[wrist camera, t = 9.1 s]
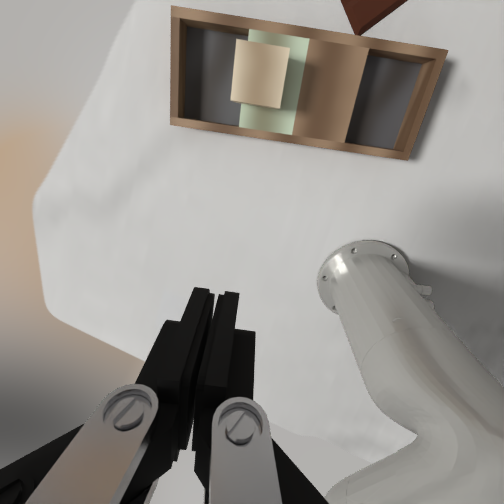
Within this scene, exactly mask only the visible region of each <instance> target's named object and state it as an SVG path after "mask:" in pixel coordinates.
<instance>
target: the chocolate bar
mask: <svg viewBox="0 0 504 504" xmlns="http://www.w3.org/2000/svg"><path fill="white" fill-rule="evenodd" d="M406 1H407V0H341V3H342V5H343V7H344V10H345V12H346V15H347V17H348V19H349V22H350V24H351V26H352V29H353V31H354V34H355V35H358V36H360V35H361V34H363V33H364V32H365V31H367V30H368V29H369V28H371V27H372V26H373V25H375V24H376V23H377V22H379V21H380V20H381V19H383V18H384V17H385V16H387V15H388V14H390V13H391V12H392V11H394V10H395V9H396V8H398V7H399V6H400V5H402V4H403V3H404V2H406Z"/></svg>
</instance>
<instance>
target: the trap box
mask: <svg viewBox="0 0 504 504" xmlns="http://www.w3.org/2000/svg"><path fill="white" fill-rule="evenodd" d="M236 39H240V40H246V41H252V42H258V43H264V44H269V45H275V46H281V47H287V48H290V52H289V58H288V63H287V69H286V75H285V81H284V87H283V93H282V99H281V105H280V109H273V108H266V107H260V106H254V105H248V104H242V103H236V102H233V101H231V90H232V79H233V69H234V59H235V49H236ZM447 53H448V50H445V49H439V48H433V47H426V46H420V45H414V44H408V43H402V42H395V41H389V40H383V39H377V38H370V37H364V36H358V35H352V34H346V33H339V32H333V31H327V30H321V29H315V28H308V27H302V26H296V25H290V24H283V23H277V22H271V21H265V20H259V19H252V18H246V17H240V16H234V15H228V14H221V13H215V12H209V11H203V10H197V9H190V8H184V7H178V6H172V5H171V80H170V125H174V126H181V127H187V128H194V129H201V130H207V131H214V132H221V133H227V134H234V135H241V136H247V137H254V138H261V139H267V140H274V141H281V142H287V143H294V144H301V145H307V146H314V147H321V148H327V149H334V150H341V151H347V152H354V153H361V154H367V155H374V156H381V157H387V158H394V159H401V160H407V161H408V159H409V156H410V154H411V151H412V148H413V145H414V143H415V140H416V137H417V135H418V132H419V129H420V126H421V124H422V121H423V118H424V116H425V113H426V110H427V107H428V105H429V102H430V99H431V97H432V94H433V91H434V88H435V86H436V83H437V80H438V77H439V75H440V72H441V69H442V67H443V64H444V61H445V58H446V56H447Z"/></svg>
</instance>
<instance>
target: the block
mask: <svg viewBox="0 0 504 504" xmlns="http://www.w3.org/2000/svg"><path fill="white" fill-rule="evenodd" d="M289 52H290V48H287V47H281V46H275V45H269V44H264V43H258V42H252V41H246V40H240V39H236V49H235V59H234V69H233V79H232V90H231V101H233V102H236V103H242V104H248V105H254V106H260V107H266V108H273V109H280V105H281V99H282V93H283V87H284V81H285V75H286V69H287V63H288V58H289Z"/></svg>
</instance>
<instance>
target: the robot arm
mask: <svg viewBox="0 0 504 504" xmlns="http://www.w3.org/2000/svg"><path fill="white" fill-rule="evenodd" d="M353 248H354V249H353ZM352 249H353V250H352ZM317 286H318V292H319V295H320V298H321V300H322V302H323V303H324V304H325V306H326V307H327V308H328V309H329V310H331V311H332V312H334V313H336V314H338V315H339V317H340V320H341V323H342V325H343V328H344V330H345V333H346V336H347V338H348V341H349V344H350V346H351V349H352V352H353V354H354V357H355V360H356V362H357V365H358V368H359V370H360V373H361V376H362V378H363V381H364V384H365V386H366V389H367V391H368V393H369V395H370V397H371V399H372V400H373V402H374V403H375V404H376V406H377V407H378V408H379V409H380V410H381V411H382V412H383V413H384V414H385V415H386V416H388V417H389V418H390V419H392V420H393V421H394V422H396V423H398V424H399V425H401V426H402V427H404V428H406V429H408V430H410V431H412V432H413V433H415V434H417V435H418V436H417V438H416V439H415V440H414V441H413V442H412V443H411V444H409V445H407V446H405V447H404V448H402V449H400V450H398V451H397V452H396V453H394V454H392V455H390V456H388V457H386V458H384V459H382V460H380V461H378V462H375V463H373V464H372V465H369V466H367V467H365V468H363V469H361V470H359V471H357V472H355V473H354V474H352V475H350V476H348V477H346V478H344V479H343V480H341V481H340V482H338V483H337V484H335V485H334V486H333V487H332V488H331V489H330V490H329V491H328V493H327V494H326V496H325V497H323V496H322V495H321V494H320V493H319V492H318V490H317V489H316V488H315V487H314V486H313V485H312V483H311V482H310V481H309V480H308V479H307V478H306V477H305V476H304V474H303V473H302V472H301V471H300V470H299V469H298V468H297V466H296V465H295V464H294V463H293V462H292V461H291V459H289V457H288V456H287V455H286V454H285V453H284V452H283V450H282V449H281V448H280V447H279V446H278V445H277V444H276V442H275V441H274V440H273V439H272V438H271V433H270V426H269V421H268V418H267V415H266V413H265V411H264V410H263V409H262V407H261V406H260V405H259V404H257V403H256V402H255V401H253V388H254V362H255V331H247V330H240V329H235V322H236V315H237V308H238V300H239V293H235V292H228V291H225V294H224V295H221V294H219V296H218V300H217V303H216V307H215V311H214V315H213V307H214V296H215V294H213V293H210V290H209V289H206V288H198V287H194V289H193V292H192V294H191V296H190V299H189V301H188V304H187V306H186V309H185V311H184V314H183V316H182V319H181V321H180V322H179V321H172V320H166V321H165V323H164V324H163V326H162V328H161V331H160V333H159V335H158V337H157V339H156V341H155V343H154V345H153V347H152V349H151V351H150V353H149V355H148V357H147V359H146V362H145V364H144V366H143V368H142V370H141V372H140V374H139V376H138V378H137V380H136V382H135V384H130V385H125V386H122V387H120V388H117V389H115V390H114V391H112V392H111V393H109V394H108V395H107V396H106V397H105V398H104V399H103V400H102V401H101V403H100V404H99V406H98V407H97V408H96V409H95V411H94V412H93V413H92V415H91V416H90V418H89V419H88V420H87V421H86V423H85V424H83V425H81V426H79V427H77V428H75V429H73V430H72V431H70V432H68V433H66V434H64V435H63V436H61V437H59V438H57V439H55V440H53V441H51V442H50V443H48V444H46V445H44V446H42V447H41V448H39V449H37V450H35V451H33V452H31V453H30V454H28V455H26V456H24V457H22V458H20V459H19V460H17V461H15V462H13V463H11V464H10V465H8V466H6V467H4V468H2V469H0V504H149V503H150V500H151V498H152V495H153V493H154V491H155V489H156V486H157V483H158V479H159V477H160V476H162V475H163V474H164V473H165V472H167V471H168V470H169V469H171V467H172V463H173V461H177V459H178V455H179V451H180V449H182V450H186V449H187V445H188V441H189V437H190V433H191V428H192V424H193V420H194V424H193V439H192V451H196V454H195V466H194V472H195V473H196V475H197V476H198V478H199V480H200V481H201V483H202V485H203V486H204V504H504V387H503V386H502V385H501V384H500V383H499V382H498V381H497V380H496V379H495V378H494V377H493V375H492V374H491V373H490V372H489V371H488V370H487V369H486V368H485V367H484V366H483V365H482V364H481V363H480V362H479V361H478V360H477V358H476V357H475V356H474V355H473V354H472V353H471V352H470V351H469V349H468V348H467V347H466V346H465V345H464V344H463V343H462V342H461V340H460V339H459V338H458V337H457V336H456V335H455V334H454V333H453V331H452V330H451V329H450V328H449V327H448V326H447V325H446V323H445V322H444V321H443V320H442V319H441V318H440V317H439V315H438V314H437V313H436V312H435V311H434V303H433V301H431V300H426V299H424V298H423V297H422V296H421V295H425V296H430V295H431V293H432V288H431V286H427V285H416V284H415V283H414V282H413V281H412V279H411V278H410V277H409V268H408V265H407V263H406V260H405V259H404V258H403V256H402V255H401V254H400V253H399V252H398V251H397V250H396V249H395V248H393V247H391V246H390V245H388V244H385V243H382V242H379V241H372V240H370V241H359V242H354V243H351V244H348V245H345V246H343V247H342V248H340V249H338V250H336V251H335V252H334V253H333V254H332V255H330V256H329V257H328V259H327V260H326V261H325V262H324V264H323V265H322V267H321V269H320V272H319V275H318V280H317ZM212 317H213V319H212Z"/></svg>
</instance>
